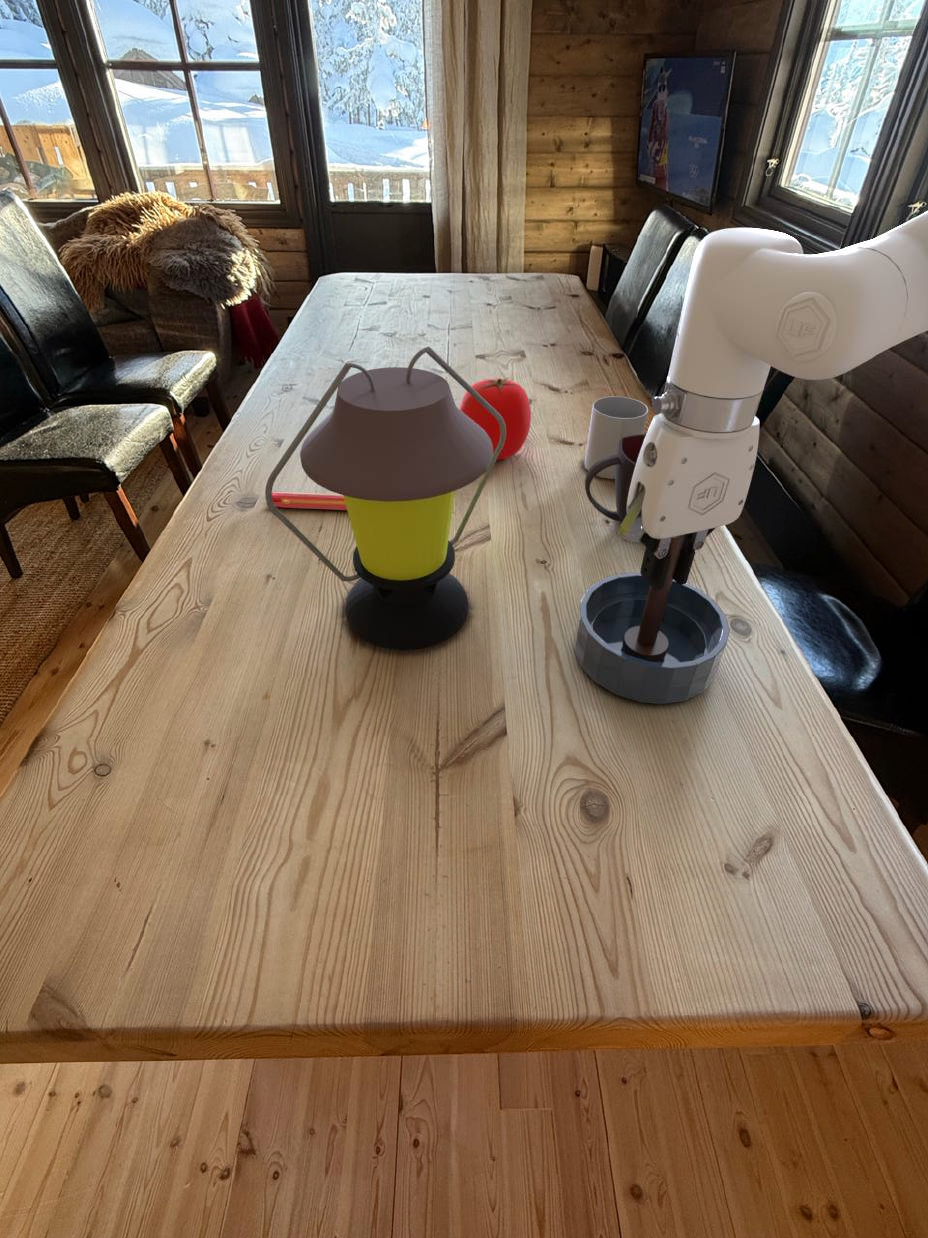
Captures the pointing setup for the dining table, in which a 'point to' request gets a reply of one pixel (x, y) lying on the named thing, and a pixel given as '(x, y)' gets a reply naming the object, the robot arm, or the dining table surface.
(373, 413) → the lantern
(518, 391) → the tomato
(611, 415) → the cup
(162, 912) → the dining table surface
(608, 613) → the bowl
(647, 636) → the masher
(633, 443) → the mug
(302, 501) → the red bar
